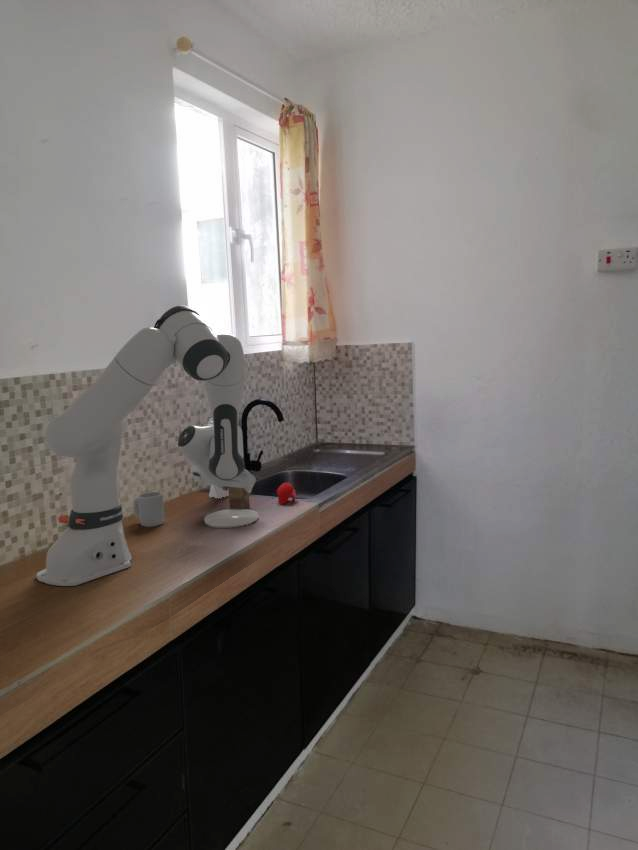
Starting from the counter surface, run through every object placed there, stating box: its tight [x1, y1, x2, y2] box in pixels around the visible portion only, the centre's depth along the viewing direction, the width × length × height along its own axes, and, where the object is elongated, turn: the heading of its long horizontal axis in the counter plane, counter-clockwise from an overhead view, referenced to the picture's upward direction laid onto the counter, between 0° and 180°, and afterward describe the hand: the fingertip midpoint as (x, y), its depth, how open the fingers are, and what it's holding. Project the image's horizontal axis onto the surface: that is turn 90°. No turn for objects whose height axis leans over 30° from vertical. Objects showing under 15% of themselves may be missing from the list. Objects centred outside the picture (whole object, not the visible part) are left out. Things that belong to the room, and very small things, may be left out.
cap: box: [276, 482, 297, 505], centre depth 206 cm, size 8×6×6 cm
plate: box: [204, 508, 259, 529], centre depth 188 cm, size 16×16×1 cm
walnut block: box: [228, 487, 251, 509], centre depth 201 cm, size 4×4×8 cm
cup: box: [133, 491, 166, 528], centre depth 188 cm, size 7×10×9 cm
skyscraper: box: [205, 417, 229, 500], centre depth 216 cm, size 8×8×28 cm
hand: (237, 490), depth 199 cm, fingers open, 8 cm apart
